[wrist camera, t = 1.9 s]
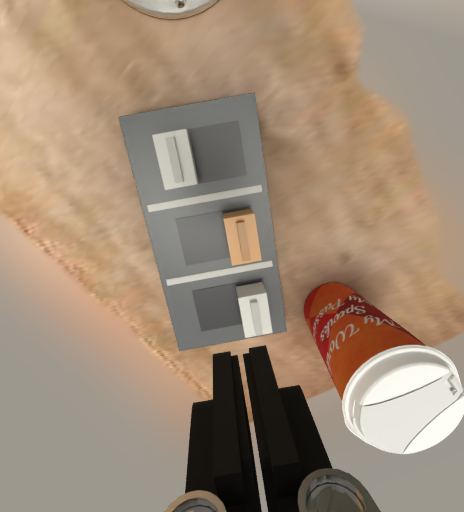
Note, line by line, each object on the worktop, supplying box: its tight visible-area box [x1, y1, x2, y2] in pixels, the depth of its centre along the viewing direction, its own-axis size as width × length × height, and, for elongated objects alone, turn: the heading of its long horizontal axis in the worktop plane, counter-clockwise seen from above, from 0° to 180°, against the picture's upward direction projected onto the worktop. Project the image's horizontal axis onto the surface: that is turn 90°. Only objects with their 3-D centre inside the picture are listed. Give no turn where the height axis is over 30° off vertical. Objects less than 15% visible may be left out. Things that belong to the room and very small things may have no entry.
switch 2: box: [223, 208, 262, 266], centre depth 27 cm, size 4×2×3 cm, turn 10°
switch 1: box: [152, 129, 198, 190], centre depth 24 cm, size 4×2×3 cm, turn 10°
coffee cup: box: [304, 283, 464, 454], centre depth 28 cm, size 8×8×15 cm
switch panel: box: [118, 92, 287, 351], centre depth 30 cm, size 22×11×3 cm, turn 10°
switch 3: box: [236, 282, 273, 338], centre depth 29 cm, size 4×2×3 cm, turn 10°
